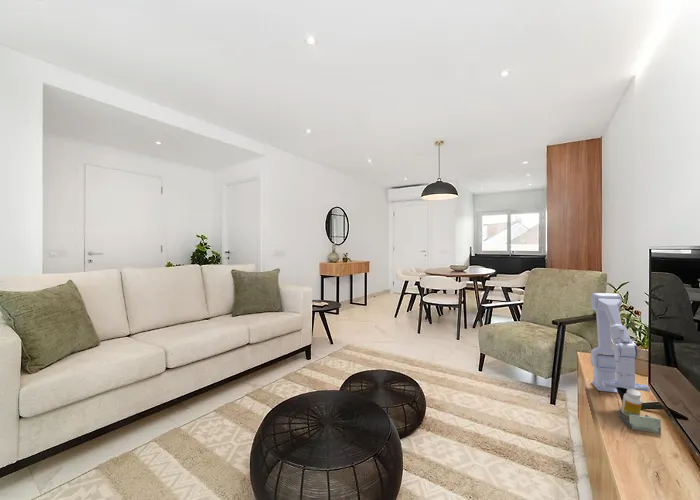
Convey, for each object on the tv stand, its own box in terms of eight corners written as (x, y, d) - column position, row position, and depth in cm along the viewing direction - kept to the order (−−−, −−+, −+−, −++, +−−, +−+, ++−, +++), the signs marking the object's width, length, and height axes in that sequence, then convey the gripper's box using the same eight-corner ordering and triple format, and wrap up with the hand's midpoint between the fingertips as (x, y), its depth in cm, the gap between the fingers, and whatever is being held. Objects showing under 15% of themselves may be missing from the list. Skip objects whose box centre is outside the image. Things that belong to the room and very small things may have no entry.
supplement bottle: (642, 419, 119) (647, 397, 117) (626, 417, 120) (630, 396, 118) (633, 408, 124) (637, 387, 122) (617, 407, 126) (621, 386, 123)
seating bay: (619, 416, 122) (618, 403, 121) (647, 420, 118) (647, 407, 118) (629, 428, 113) (629, 415, 113) (660, 433, 110) (660, 419, 110)
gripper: (607, 374, 124) (607, 408, 125) (654, 379, 119) (654, 414, 119) (600, 367, 131) (600, 400, 131) (644, 372, 126) (644, 405, 126)
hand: (625, 406), depth 126 cm, fingers closed, pressing on supplement bottle
